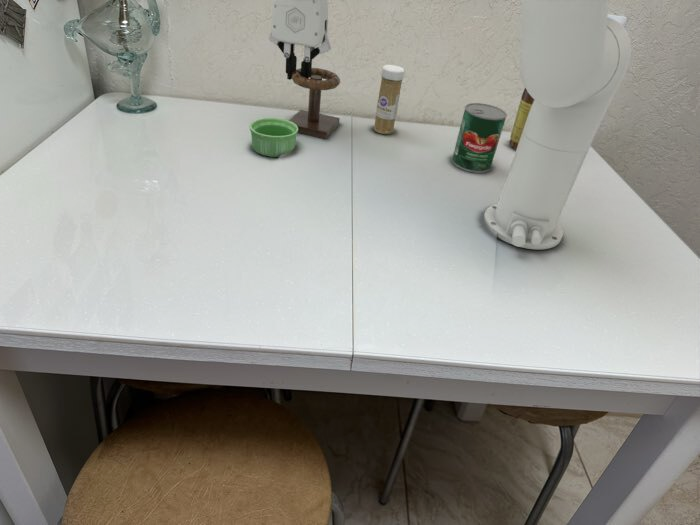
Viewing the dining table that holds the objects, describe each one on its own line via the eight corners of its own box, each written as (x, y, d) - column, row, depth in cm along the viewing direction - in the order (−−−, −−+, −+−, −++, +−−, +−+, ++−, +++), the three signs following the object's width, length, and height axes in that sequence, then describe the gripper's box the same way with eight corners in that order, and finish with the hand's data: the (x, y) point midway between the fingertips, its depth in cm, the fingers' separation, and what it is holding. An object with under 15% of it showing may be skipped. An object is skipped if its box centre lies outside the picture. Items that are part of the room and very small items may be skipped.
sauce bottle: (533, 143, 111) (565, 51, 99) (538, 155, 106) (574, 59, 94) (504, 139, 111) (533, 47, 99) (508, 150, 106) (540, 54, 94)
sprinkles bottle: (370, 131, 106) (379, 67, 98) (376, 125, 110) (386, 62, 101) (390, 136, 105) (401, 72, 97) (396, 129, 109) (407, 67, 101)
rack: (326, 139, 100) (330, 87, 94) (285, 129, 102) (286, 78, 95) (339, 124, 107) (344, 75, 101) (300, 116, 109) (303, 67, 103)
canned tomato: (477, 154, 103) (492, 102, 96) (498, 172, 97) (515, 118, 90) (444, 156, 100) (457, 102, 94) (463, 174, 94) (478, 118, 88)
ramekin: (261, 135, 98) (261, 114, 96) (303, 145, 97) (305, 123, 94) (241, 152, 91) (241, 129, 89) (286, 162, 90) (287, 140, 87)
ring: (330, 94, 95) (331, 85, 93) (284, 84, 96) (284, 75, 95) (344, 81, 102) (345, 72, 101) (301, 72, 103) (301, 63, 102)
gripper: (252, -30, 87) (253, 76, 98) (338, -16, 84) (329, 92, 95) (269, -33, 93) (269, 67, 104) (350, -20, 90) (341, 81, 101)
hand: (298, 78), depth 99 cm, fingers closed on ring, 2 cm apart
